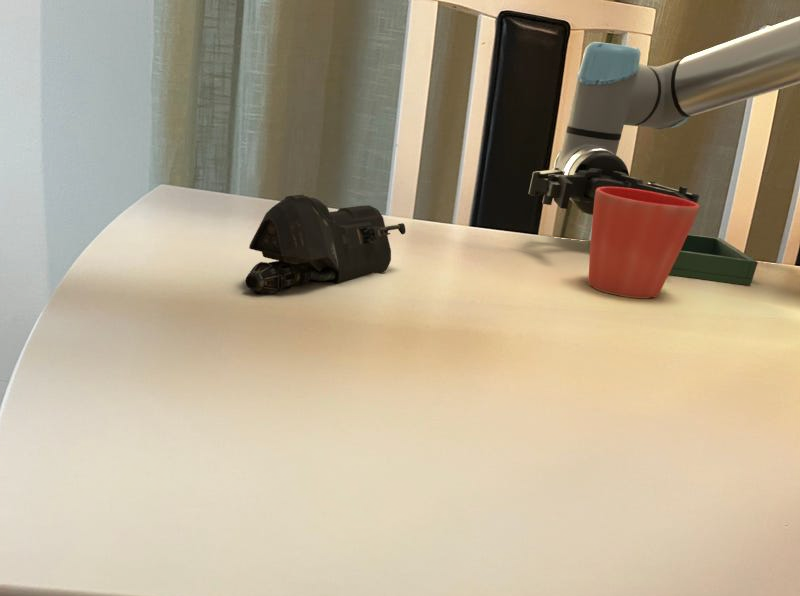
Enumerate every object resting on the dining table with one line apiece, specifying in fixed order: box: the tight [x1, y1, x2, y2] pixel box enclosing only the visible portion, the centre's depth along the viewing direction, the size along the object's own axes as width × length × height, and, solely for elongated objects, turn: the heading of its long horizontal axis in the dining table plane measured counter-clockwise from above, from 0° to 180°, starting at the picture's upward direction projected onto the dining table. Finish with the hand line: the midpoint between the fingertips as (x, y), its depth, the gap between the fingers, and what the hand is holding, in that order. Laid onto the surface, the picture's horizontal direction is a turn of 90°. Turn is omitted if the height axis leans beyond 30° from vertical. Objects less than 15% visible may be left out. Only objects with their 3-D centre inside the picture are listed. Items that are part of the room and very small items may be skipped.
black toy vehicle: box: [245, 194, 406, 295], centre depth 95 cm, size 7×25×8 cm, turn 152°
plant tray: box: [668, 233, 759, 287], centre depth 129 cm, size 17×17×3 cm
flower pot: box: [587, 187, 700, 299], centre depth 108 cm, size 11×11×10 cm
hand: (625, 204), depth 115 cm, fingers open, 13 cm apart
